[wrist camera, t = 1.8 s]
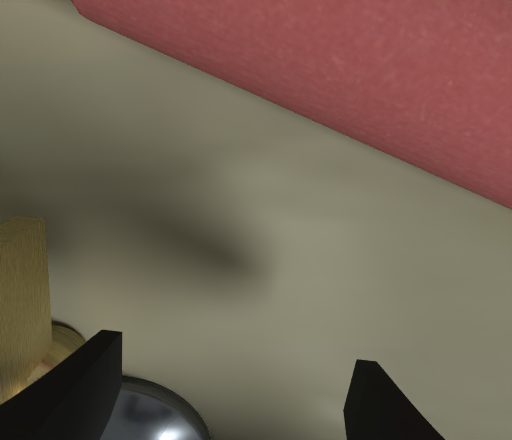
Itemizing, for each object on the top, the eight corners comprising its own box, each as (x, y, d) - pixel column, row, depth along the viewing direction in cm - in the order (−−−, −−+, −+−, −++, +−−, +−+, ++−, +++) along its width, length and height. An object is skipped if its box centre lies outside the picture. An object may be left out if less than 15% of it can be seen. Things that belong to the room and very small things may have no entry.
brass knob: (91, 384, 18) (36, 484, 14) (24, 377, 18) (-53, 474, 13) (88, 211, 15) (16, 267, 11) (8, 201, 15) (-97, 253, 11)
